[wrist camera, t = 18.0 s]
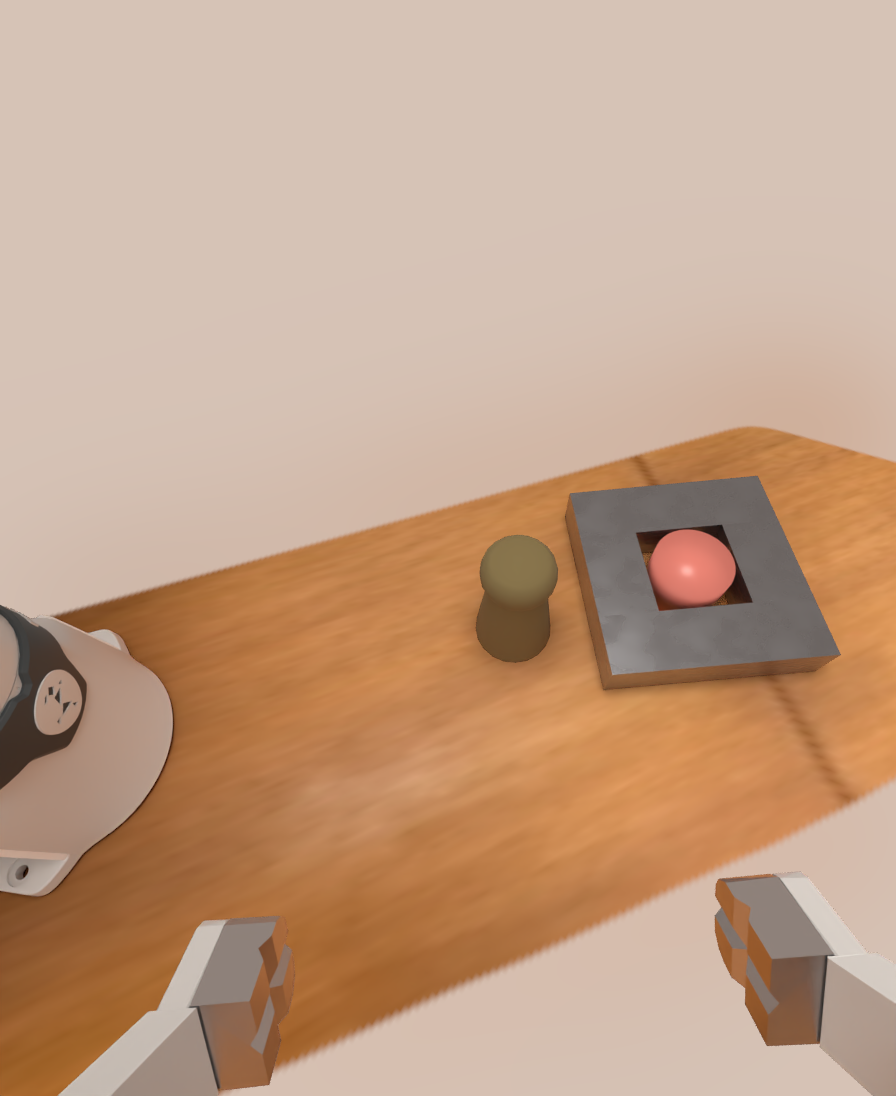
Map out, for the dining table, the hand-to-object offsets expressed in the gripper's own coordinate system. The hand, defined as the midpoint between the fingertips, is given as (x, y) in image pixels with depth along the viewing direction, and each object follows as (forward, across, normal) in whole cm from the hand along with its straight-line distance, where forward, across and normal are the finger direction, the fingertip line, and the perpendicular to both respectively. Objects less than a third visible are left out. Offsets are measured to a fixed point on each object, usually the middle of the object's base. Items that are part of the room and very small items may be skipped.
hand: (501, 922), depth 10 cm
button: (+35, -18, +6) cm, 40 cm away
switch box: (+35, -18, +6) cm, 40 cm away
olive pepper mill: (+34, -4, +8) cm, 35 cm away
